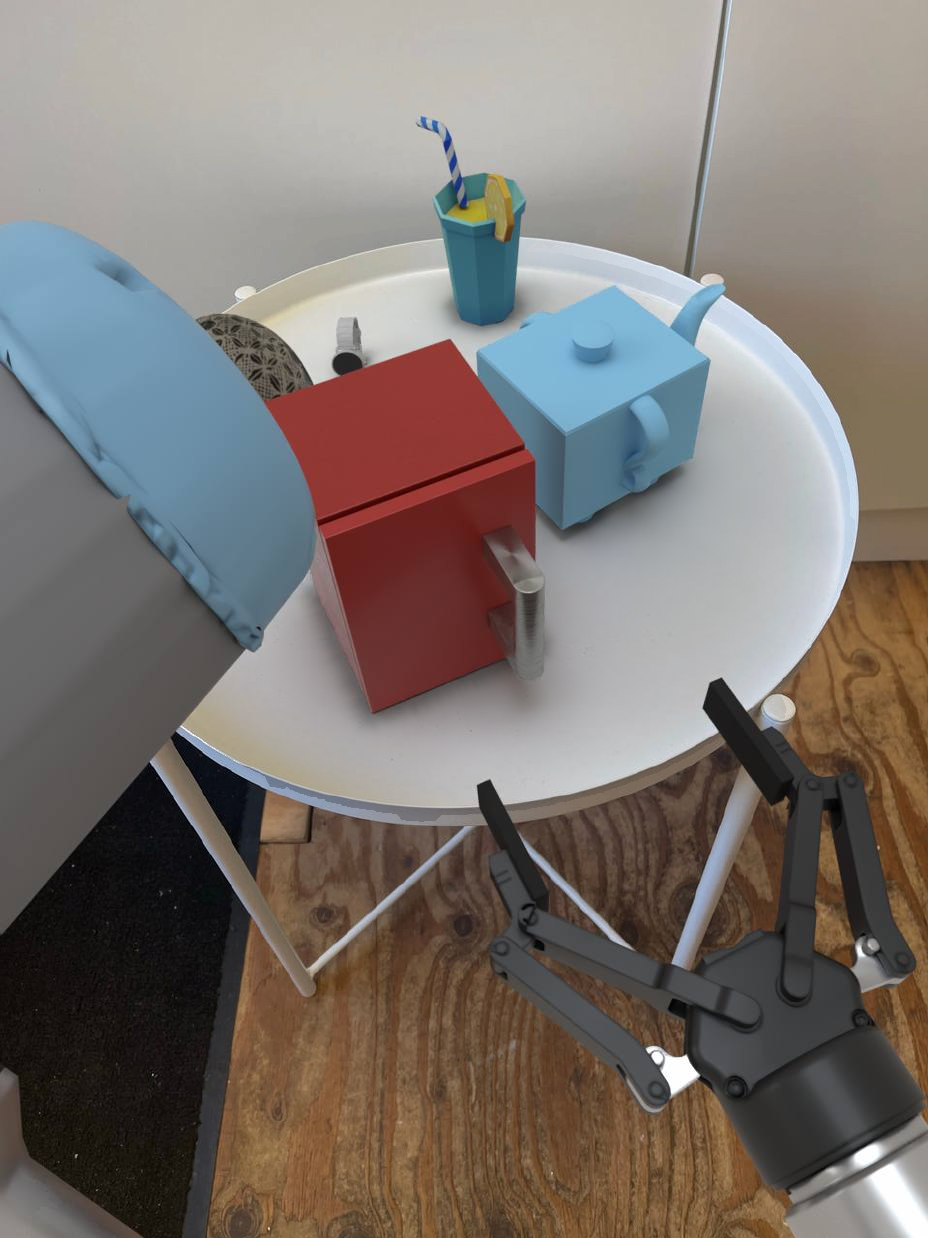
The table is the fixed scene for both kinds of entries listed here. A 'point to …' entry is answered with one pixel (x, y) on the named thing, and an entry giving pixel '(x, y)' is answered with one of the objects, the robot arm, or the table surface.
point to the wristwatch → (348, 347)
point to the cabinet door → (442, 581)
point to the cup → (479, 236)
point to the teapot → (601, 396)
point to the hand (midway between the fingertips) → (600, 741)
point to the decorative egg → (258, 354)
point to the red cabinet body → (388, 441)
